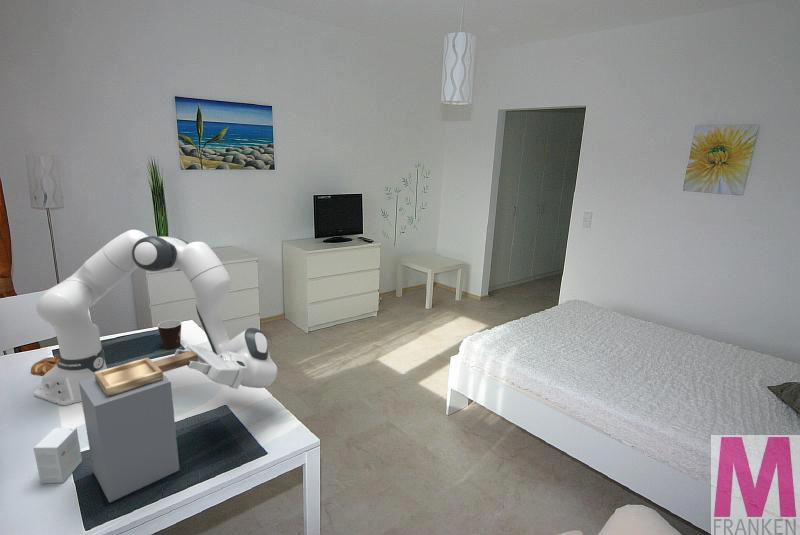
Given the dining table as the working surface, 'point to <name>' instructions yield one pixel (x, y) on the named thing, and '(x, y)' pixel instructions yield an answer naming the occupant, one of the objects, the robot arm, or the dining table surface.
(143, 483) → the tall grey pillar block
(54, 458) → the small box
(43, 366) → the pretzel
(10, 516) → the dining table surface
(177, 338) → the coffee mug
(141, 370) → the oak tray
